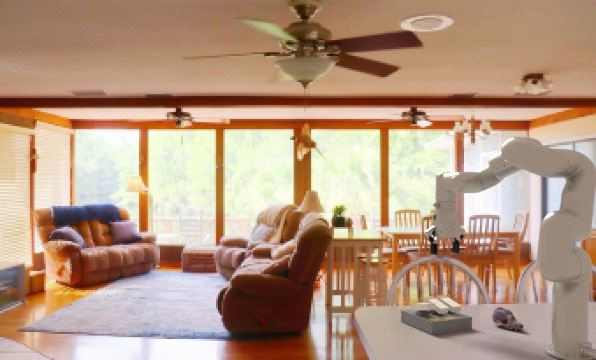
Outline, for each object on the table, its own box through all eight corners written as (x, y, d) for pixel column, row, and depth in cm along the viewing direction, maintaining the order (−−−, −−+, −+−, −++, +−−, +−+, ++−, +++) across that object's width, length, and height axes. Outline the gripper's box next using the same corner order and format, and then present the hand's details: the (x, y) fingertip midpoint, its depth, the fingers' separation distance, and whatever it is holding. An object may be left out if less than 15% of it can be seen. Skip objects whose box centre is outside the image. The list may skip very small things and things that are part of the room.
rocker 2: (447, 312, 178) (448, 307, 178) (439, 314, 177) (440, 308, 176) (431, 301, 186) (432, 296, 186) (423, 302, 185) (424, 296, 184)
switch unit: (472, 328, 177) (472, 312, 177) (431, 334, 170) (432, 318, 170) (439, 316, 193) (439, 301, 193) (401, 321, 186) (401, 306, 186)
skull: (528, 332, 174) (529, 314, 174) (508, 333, 172) (508, 315, 172) (507, 322, 186) (507, 305, 185) (487, 323, 184) (488, 306, 184)
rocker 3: (460, 311, 181) (461, 305, 180) (452, 312, 179) (453, 306, 179) (443, 299, 189) (444, 294, 188) (435, 300, 187) (436, 295, 187)
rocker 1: (436, 308, 176) (435, 302, 176) (427, 310, 174) (426, 303, 174) (419, 308, 184) (418, 302, 184) (411, 309, 182) (410, 303, 182)
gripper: (432, 207, 181) (431, 256, 181) (472, 206, 188) (471, 254, 188) (419, 205, 188) (418, 253, 188) (458, 205, 195) (457, 250, 195)
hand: (444, 253), depth 188 cm, fingers open, 9 cm apart
